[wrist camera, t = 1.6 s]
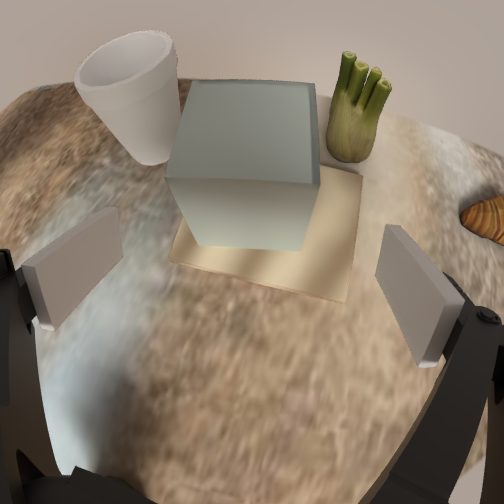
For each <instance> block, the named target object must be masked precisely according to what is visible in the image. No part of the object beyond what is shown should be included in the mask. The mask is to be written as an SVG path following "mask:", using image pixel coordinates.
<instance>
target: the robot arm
mask: <svg viewBox="0 0 504 504" xmlns="http://www.w3.org/2000/svg"><path fill="white" fill-rule="evenodd" d="M122 258H123V251H122V244H121V236H120V227H119V218H118V208H117V207H104V208H103V209H101V210H100V211H98V212H96V213H95V214H93V215H92V216H90V217H89V218H87V219H85V220H84V221H82V222H81V223H79V224H78V225H76V226H75V227H73V228H72V229H70V230H69V231H67V232H66V233H64V234H63V235H61V236H60V237H59V238H57V239H56V240H54V241H53V242H51V243H50V244H49V245H47V246H46V247H44V248H43V249H42V250H40V251H39V252H37V253H36V254H35V255H33V256H32V257H31V258H29V259H28V260H27V261H25V262H24V263H23V264H21V267H20V268H19V269H18V270H16V271H15V269H14V265H13V261H12V257H11V254H10V250H8V249H0V504H157V503H155V502H153V501H151V500H149V499H147V498H145V497H144V496H142V495H140V494H138V493H136V492H134V491H133V490H131V489H129V488H127V487H126V486H124V485H122V484H121V483H119V482H117V481H115V480H112V479H109V478H106V477H103V476H101V475H98V474H95V473H92V472H90V471H87V470H84V469H82V468H79V467H77V466H75V468H74V470H73V472H72V474H71V475H62V474H61V472H60V471H59V469H58V466H57V464H56V461H55V457H54V453H53V449H52V445H51V441H50V437H49V432H48V428H47V423H46V418H45V413H44V407H43V402H42V396H41V389H40V382H39V374H38V366H37V356H36V344H35V329H34V326H33V323H32V321H31V320H32V319H33V318H34V317H35V316H36V315H37V318H38V320H39V323H40V326H41V328H44V329H48V330H51V331H56V330H57V329H58V327H59V326H60V325H61V324H62V323H63V322H64V320H65V319H66V318H67V317H68V316H69V315H70V314H71V312H72V311H73V310H74V309H75V308H76V307H77V306H78V305H79V304H80V302H81V301H82V300H83V299H84V298H85V297H86V296H87V295H88V294H89V293H90V291H91V290H92V289H93V288H94V287H95V286H96V285H97V284H98V283H99V282H100V281H101V280H102V279H103V277H104V276H105V275H106V274H107V273H108V272H109V271H110V270H111V269H112V268H113V267H114V266H115V265H116V264H117V263H118V262H119V261H120V260H121V259H122ZM375 277H376V279H377V281H378V283H379V284H380V286H381V288H382V290H383V293H384V295H385V297H386V299H387V301H388V303H389V305H390V307H391V309H392V311H393V313H394V315H395V317H396V319H397V322H398V324H399V326H400V328H401V330H402V333H403V335H404V337H405V339H406V341H407V344H408V346H409V348H410V351H411V353H412V355H413V357H414V360H415V362H416V365H417V367H418V368H422V367H436V365H437V363H438V361H439V359H440V357H441V355H442V353H443V355H444V357H445V359H446V363H445V365H444V367H443V369H442V371H441V372H440V374H439V376H438V378H437V380H436V382H435V383H434V384H435V385H434V387H433V389H432V391H431V393H430V395H429V397H428V399H427V401H426V402H425V404H424V406H423V408H422V410H421V412H420V413H419V415H418V417H417V419H416V420H415V422H414V424H413V425H412V427H411V429H410V431H409V432H408V434H407V435H406V437H405V439H404V440H403V442H402V443H401V445H400V446H399V448H398V450H397V451H396V453H395V454H394V456H393V457H392V459H391V460H390V462H389V463H388V464H387V466H386V467H385V469H384V470H383V471H382V473H381V474H380V476H379V477H378V478H377V480H376V481H375V482H374V484H373V485H372V486H371V488H370V489H369V490H368V492H367V493H366V494H365V495H364V497H363V498H362V499H361V500H360V502H359V503H358V504H449V503H448V500H449V497H450V495H451V493H452V491H453V489H454V487H455V484H456V482H457V480H458V478H459V476H460V473H461V471H462V469H463V466H464V464H465V461H466V459H467V457H468V454H469V451H470V449H471V446H472V443H473V441H474V438H475V435H476V432H477V429H478V426H479V423H480V420H481V417H482V413H483V410H484V407H485V403H486V400H487V396H488V427H487V448H486V461H485V470H484V471H485V472H484V479H483V487H482V493H481V499H480V504H504V325H502V322H501V319H500V317H499V316H498V315H497V314H496V313H495V312H494V311H492V310H490V309H488V308H486V307H483V306H475V305H474V304H473V302H472V301H471V300H470V299H469V297H468V296H467V295H466V294H465V293H464V292H463V290H462V289H461V288H460V287H458V284H457V283H456V282H455V281H454V279H453V278H451V277H450V276H448V275H447V274H446V273H444V272H441V270H440V269H439V268H438V267H437V266H436V265H435V263H434V262H433V261H432V260H431V259H430V258H429V257H428V256H427V254H426V253H425V252H424V251H423V250H422V249H421V248H420V247H419V245H418V244H417V243H416V242H415V241H414V240H413V239H412V238H411V237H410V236H409V235H408V234H407V233H406V231H405V230H404V229H403V228H402V227H401V226H399V225H390V224H386V225H385V230H384V236H383V241H382V246H381V250H380V255H379V260H378V264H377V269H376V273H375Z"/></svg>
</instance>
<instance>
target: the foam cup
mask: <svg viewBox="0 0 504 504" xmlns="http://www.w3.org/2000/svg"><path fill="white" fill-rule="evenodd" d="M177 63H178V59H177V55H176V51H175V47H174V44H173V41H172V39H171V38H170V37H169V35H168V34H167V33H164V32H160V31H155V30H147V31H137V32H132V33H129V34H126V35H123V36H121V37H117V38H115V39H113V40H111V41H109V42H107V43H105V44H104V45H102V46H100V47H99V48H97V49H95V50H94V51H93V52H92V53H91V54H90V55H89V56H88V57H86V58H85V60H83V61H82V62H81V64H80V66H79V67H78V69H77V71H76V73H75V74H74V83H75V87H76V89H77V91H78V93H79V94H80V96H81V98H82V100H83V101H84V103H85V104H86V105H88V106H90V107H91V108H92V110H93V111H94V112H95V113H96V114H97V116H98V117H99V118H100V119H101V120H102V122H103V123H104V124H105V125H106V126H107V128H108V129H109V130H110V131H111V132H112V134H113V135H114V136H115V137H116V138H117V140H118V141H119V142H120V143H121V144H122V145H123V147H124V148H125V149H126V150H127V151H128V152H129V154H130V155H131V156H132V157H133V158H134V159H135V160H136V161H138V162H139V163H141V164H142V165H152V166H153V165H157V164H160V163H164V162H166V161H167V160H169V158H170V154H171V150H172V147H173V143H174V139H175V136H176V133H177V129H178V126H179V122H180V119H181V110H180V101H179V91H178V80H177V70H176V66H177Z"/></svg>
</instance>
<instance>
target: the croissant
mask: <svg viewBox="0 0 504 504" xmlns="http://www.w3.org/2000/svg"><path fill="white" fill-rule="evenodd" d="M460 221H461V224H462V226H464V227H465V228H466V229H468V230H469V231H470V232H472V233H474V234H476V235H478V236H480V237H481V238H488V239H489V240H491V241H493V242H495V243H497V244H500V245H502V246H504V195H501V196H495V197H491V198H490V199H488V200H481V201H479V202H477V203H476V204H474V205H472V206H470V207H469V208H467V209H466V210H464V211H463V212H462V213H461V215H460Z"/></svg>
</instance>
